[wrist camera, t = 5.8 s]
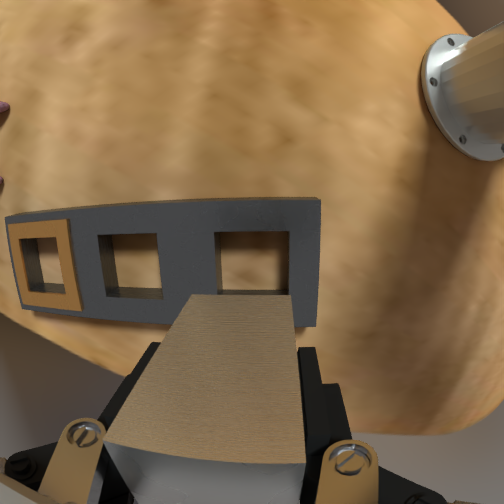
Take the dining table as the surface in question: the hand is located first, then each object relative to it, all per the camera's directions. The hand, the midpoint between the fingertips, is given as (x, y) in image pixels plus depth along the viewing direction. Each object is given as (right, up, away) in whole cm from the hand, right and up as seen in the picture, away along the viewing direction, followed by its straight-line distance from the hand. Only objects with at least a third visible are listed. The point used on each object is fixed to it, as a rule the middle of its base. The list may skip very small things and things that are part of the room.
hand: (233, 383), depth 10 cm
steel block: (0, +1, +3) cm, 3 cm away
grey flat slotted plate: (-9, +4, +16) cm, 19 cm away
